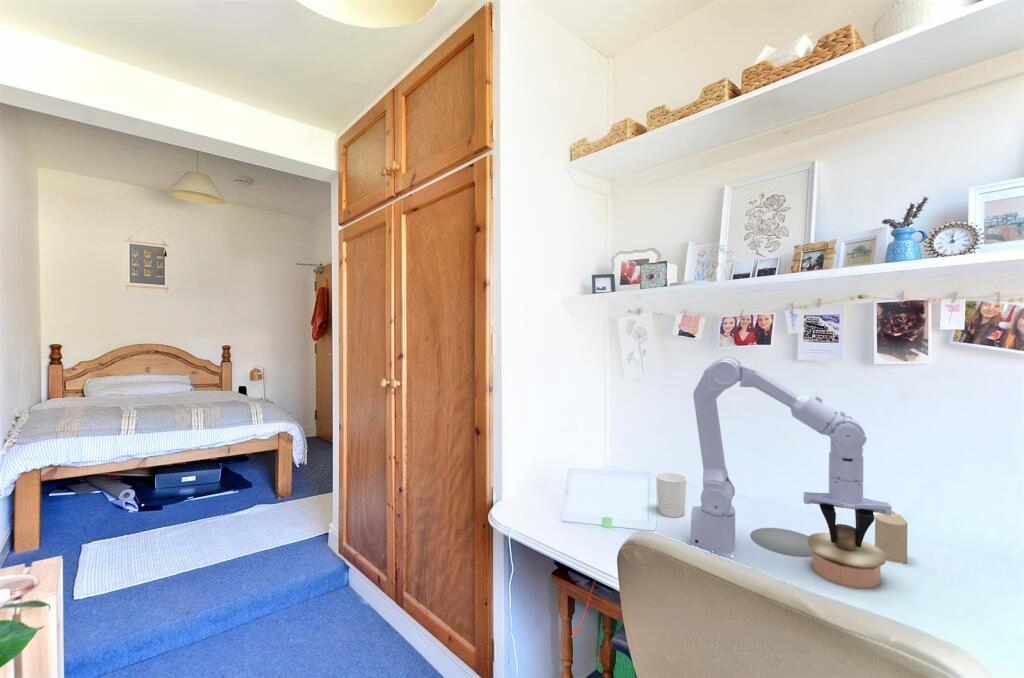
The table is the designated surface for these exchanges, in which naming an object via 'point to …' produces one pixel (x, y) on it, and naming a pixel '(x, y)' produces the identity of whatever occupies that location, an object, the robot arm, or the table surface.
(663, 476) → the white cup
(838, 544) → the lid
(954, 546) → the table surface
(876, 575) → the bowl
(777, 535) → the mat
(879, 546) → the candle
